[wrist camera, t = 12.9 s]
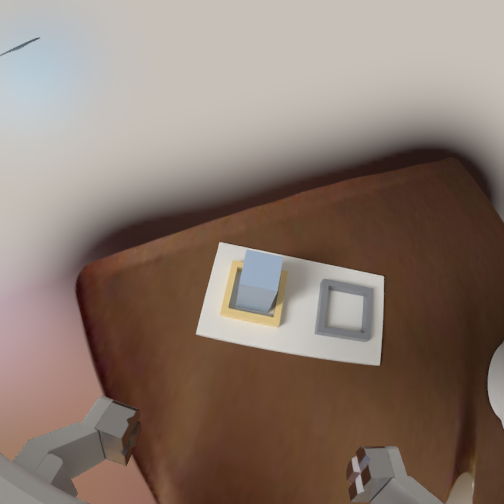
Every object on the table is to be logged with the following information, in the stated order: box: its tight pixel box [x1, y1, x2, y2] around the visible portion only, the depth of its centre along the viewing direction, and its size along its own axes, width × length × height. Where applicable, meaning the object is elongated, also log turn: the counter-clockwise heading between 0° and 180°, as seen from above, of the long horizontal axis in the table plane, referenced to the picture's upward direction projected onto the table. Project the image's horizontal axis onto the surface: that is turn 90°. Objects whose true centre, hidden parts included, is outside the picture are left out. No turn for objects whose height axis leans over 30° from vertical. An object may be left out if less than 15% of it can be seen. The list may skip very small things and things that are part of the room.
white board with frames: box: [196, 242, 384, 366], centre depth 40 cm, size 24×13×2 cm, turn 79°
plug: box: [236, 250, 283, 313], centre depth 37 cm, size 4×5×8 cm
